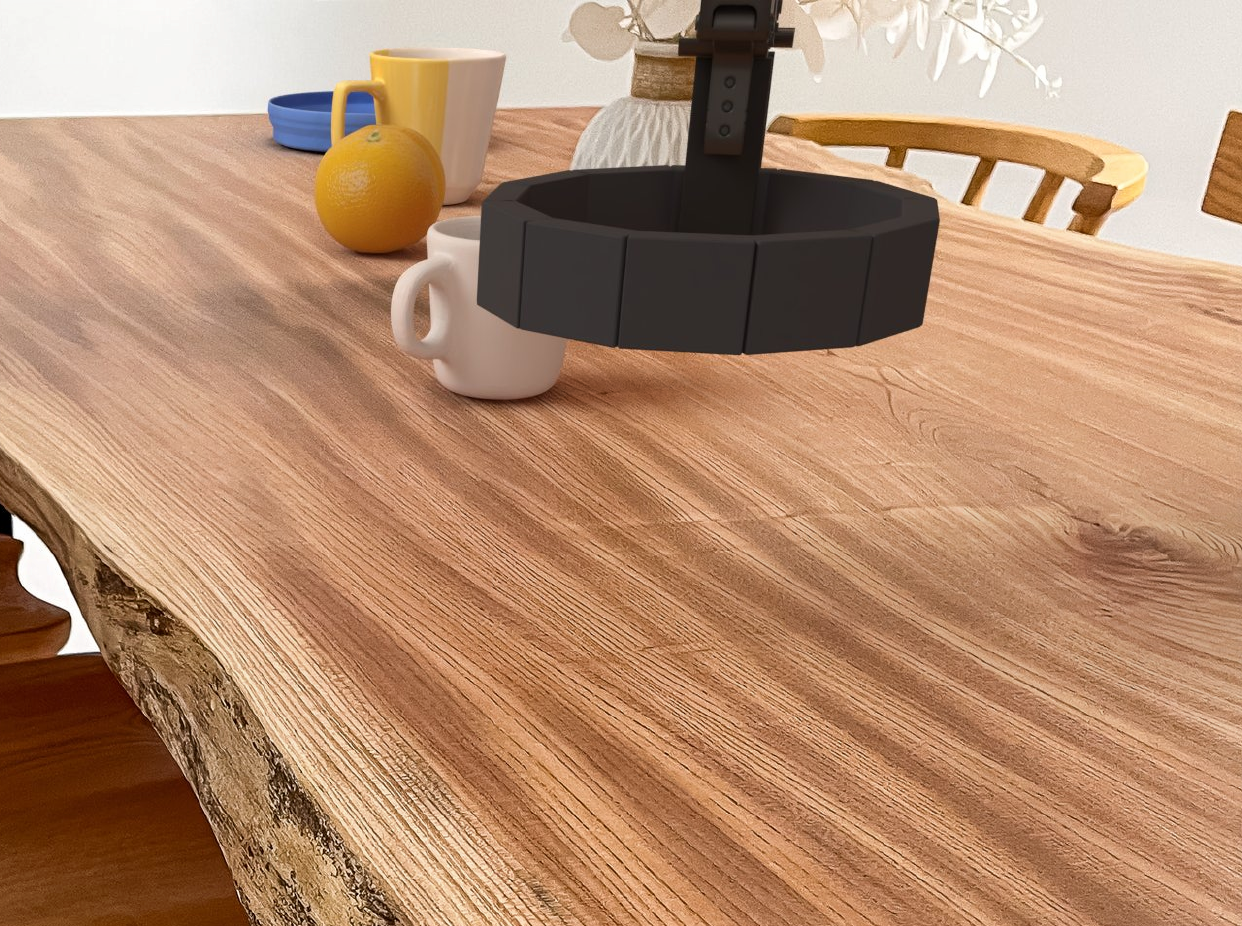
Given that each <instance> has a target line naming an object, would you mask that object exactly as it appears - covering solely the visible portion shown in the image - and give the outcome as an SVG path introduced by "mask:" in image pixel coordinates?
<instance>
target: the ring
mask: <svg viewBox="0 0 1242 926" xmlns="http://www.w3.org/2000/svg"><path fill="white" fill-rule="evenodd" d="M684 172H685V164H684V165H683V164H671V165H668V164H660V165H659V164H657V165H639V166H621V167H620V166H619V167H601V168H580V169H578V168H577V169H572V170H571V169H568V170H561V171H557V172H552V173H546V174H540V175H533V176H530V177H524V178H523V177H522V178H519V179H513V180H508V181H502V182H501V183H499V184H498V185H497V186H496V187H495V188H494V189H493V190H491V192H490V193H489V194H488V195H487V196H486V197H485V198H484V199H483V200H482V201H481V209H480V216H481V226H480V245H479V265H478V284H477V305H478V306H480V307H482V308H483V309H485V310H487V311H488V312H490V313H492V314H493V315H495V316H497V317H498V318H500V319H502V320H503V321H505V322H507V323H508V324H510V325H512V326H513V327H515V328H517V329H521V330H526V331H531V332H536V333H541V334H546V335H551V336H556V337H561V338H566V339H568V340H570V341H576V342H581V343H585V344H591V345H597V346H602V347H607V348H611V349H615V348H618V349H619V350H636V351H650V352H651V351H652V352H653V351H654V352H668V353H669V352H672V353H686V354H687V353H689V354H704V355H705V354H707V355H724V356H725V355H727V356H741V355H742V354H743V355H746V356H753V355H768V354H780V353H781V354H782V353H794V352H796V353H797V352H809V351H822V350H837V349H852V348H855V347H862V346H865V345H868V344H871V343H875V342H877V341H880V340H884V339H888V338H890V337H894V336H897V335H899V334H903V333H906V332H909V331H912V330H915V329H918V328H920V327H922V326H923V324H924V319H925V313H926V306H927V301H928V295H929V289H930V282H931V278H932V277H931V276H932V271H933V263H934V259H935V253H936V247H937V241H938V234H939V229H940V222H941V219H940V217H941V216H940V210H939V203H938V199H937V198H935V197H932V196H930V195H927V194H923V193H920V192H917V191H914V190H910V189H907V188H903V187H900V186H897V185H893V184H889V183H886V182H883V181H880V180H874V179H869V178H861V177H853V176H844V175H837V174H827V173H820V172H811V171H803V170H802V171H801V170H794V169H787V168H775V167H761V168H759V176H758V184H757V192H756V201H755V209H754V218H753V226H752V234H751V235H726V234H702V233H678V231H679V221H680V211H681V202H682V192H683V182H684Z"/></svg>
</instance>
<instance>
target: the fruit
mask: <svg viewBox="0 0 1242 926" xmlns="http://www.w3.org/2000/svg"><path fill="white" fill-rule="evenodd" d="M445 189H446V182H445V173H444V169H443V165H442V162H441V160H440V158H439V156H438V154H437V152H436V150H435V149H434V147H433V146H432V145H431V143H430V142H429V141H428V140H427V139H426V138H425V137H424V136H423V135H421V134H420V133H418V132H417V131H415V130H413V129H410V128H407V127H402V126H395V125H381V124H379V125H368V126H365V127H363V128H361V129H359V130H357V131H355V132H353V133H351V134H349V135H348V136H346V137H344V138H342V139H341V140H340V141H338V142H337V143H336V144H334V145H333V146H332V147H331V148H330V149H329V150H328V151H327V152H325V154H324V155H323V157H322V159H321V160H320V162H319V164H318V167H317V170H316V174H315V180H314V204H315V208H316V212H317V215H318V218H319V221H320V223H321V225H322V226H323V228H324V230H325V231H326V232H327V233H328V234H329V236H331V238H333V240H334V241H336V242H337V243H338V244H340V245H341V246H342V247H344V248H347V249H348V250H350V251H352V252H353V251H354V252H357V253H361V254H362V253H364V254H388V253H394V252H397V251H400V250H402V249H405V248H408V247H410V246H412V245H415V244H417V243H419V242H420V241H421V240H423V239H424V238H425V237H427V232H428V229H429V228H430V226H432V225H433V224H434V223H437V221H438V218H439V216H440V213H441V210H442V208H443V206H444V205H443V201H444V197H445Z"/></svg>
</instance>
